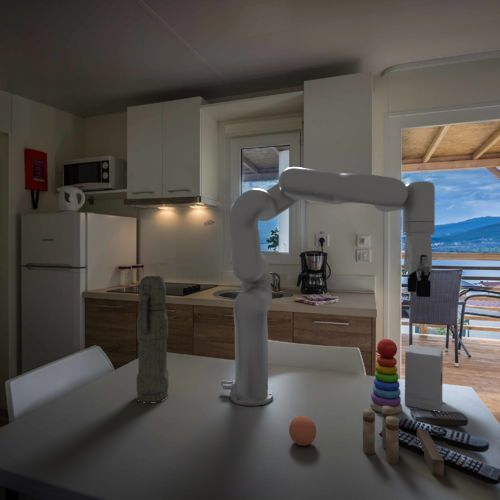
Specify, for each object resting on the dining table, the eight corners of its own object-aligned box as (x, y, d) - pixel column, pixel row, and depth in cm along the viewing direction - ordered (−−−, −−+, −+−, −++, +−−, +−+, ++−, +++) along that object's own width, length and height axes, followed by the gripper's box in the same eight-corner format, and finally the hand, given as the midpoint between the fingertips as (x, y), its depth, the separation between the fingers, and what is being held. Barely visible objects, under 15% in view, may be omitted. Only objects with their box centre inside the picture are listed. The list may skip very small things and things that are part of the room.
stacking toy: (405, 417, 93) (405, 344, 93) (372, 414, 94) (372, 342, 94) (398, 404, 101) (399, 336, 100) (368, 401, 102) (369, 335, 102)
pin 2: (386, 463, 73) (386, 421, 73) (384, 456, 75) (384, 415, 75) (399, 464, 73) (400, 422, 72) (397, 457, 75) (397, 416, 75)
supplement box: (440, 413, 95) (441, 356, 95) (404, 405, 100) (404, 351, 100) (443, 401, 103) (443, 348, 102) (409, 394, 107) (409, 343, 107)
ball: (287, 449, 78) (287, 421, 78) (290, 435, 84) (290, 409, 84) (316, 452, 77) (316, 424, 77) (316, 438, 82) (316, 412, 82)
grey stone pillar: (130, 406, 99) (129, 278, 99) (143, 389, 111) (143, 275, 110) (162, 406, 99) (162, 278, 98) (172, 389, 110) (172, 275, 110)
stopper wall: (432, 474, 69) (432, 459, 69) (416, 441, 81) (416, 428, 81) (443, 476, 69) (443, 460, 69) (426, 442, 81) (426, 429, 81)
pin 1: (382, 449, 78) (382, 410, 78) (381, 443, 80) (381, 405, 80) (395, 450, 77) (395, 411, 77) (392, 444, 80) (393, 406, 80)
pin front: (363, 453, 76) (363, 413, 76) (361, 447, 79) (362, 408, 79) (375, 455, 76) (375, 414, 76) (374, 448, 78) (374, 409, 78)
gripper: (397, 231, 105) (396, 290, 105) (411, 227, 88) (410, 298, 88) (424, 230, 103) (424, 290, 103) (444, 227, 86) (444, 299, 86)
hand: (418, 294), depth 96 cm, fingers open, 9 cm apart
